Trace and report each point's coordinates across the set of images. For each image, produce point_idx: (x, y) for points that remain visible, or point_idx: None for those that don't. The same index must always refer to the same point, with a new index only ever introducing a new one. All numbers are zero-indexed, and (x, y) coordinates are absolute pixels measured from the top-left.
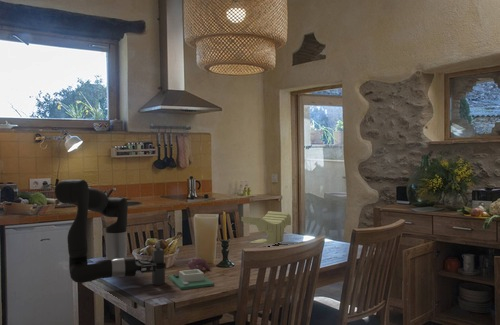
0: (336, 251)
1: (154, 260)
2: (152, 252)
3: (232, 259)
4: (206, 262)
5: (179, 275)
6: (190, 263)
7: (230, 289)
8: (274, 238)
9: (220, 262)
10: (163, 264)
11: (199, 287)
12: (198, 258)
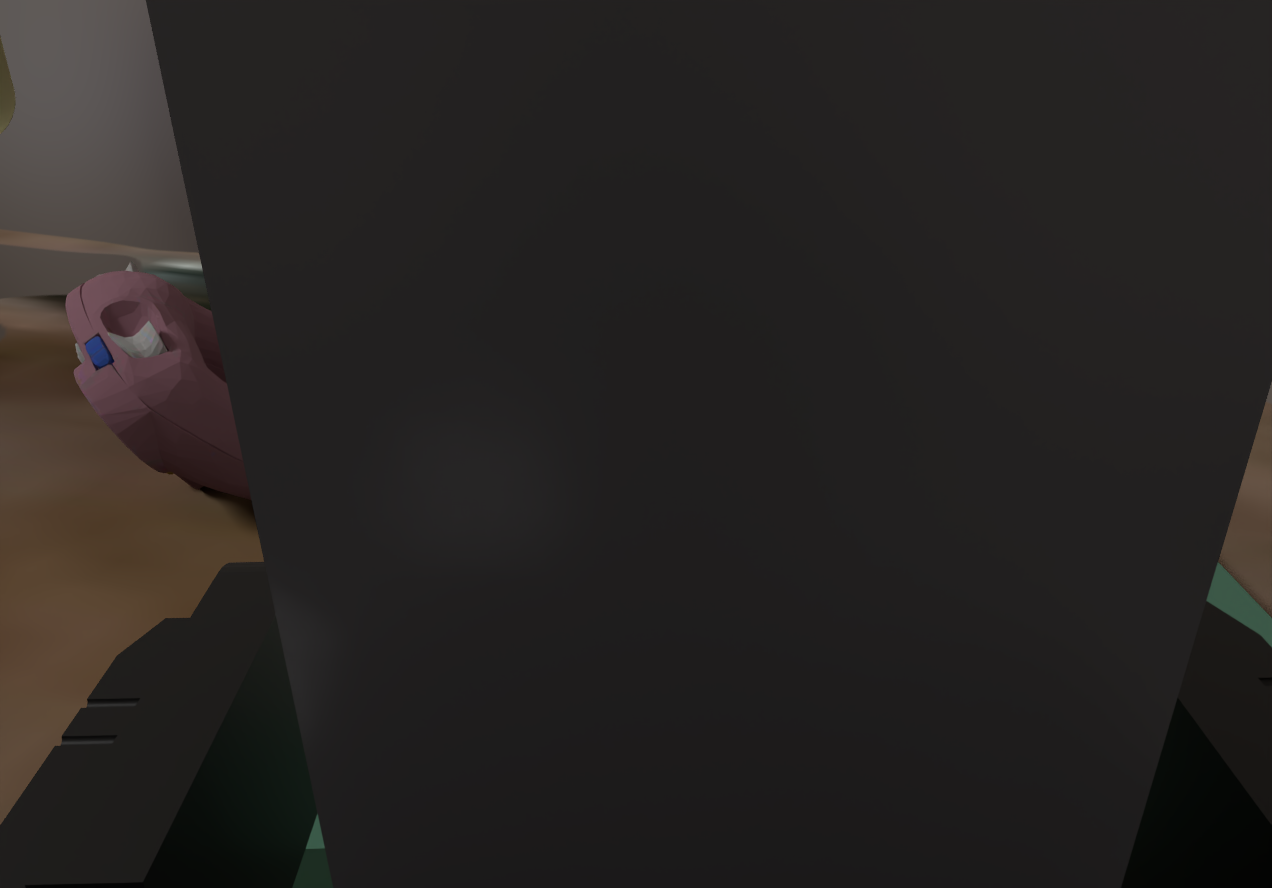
0: None
1: (1125, 804)
2: (431, 310)
3: (58, 250)
4: (201, 307)
5: None
6: (170, 386)
7: (1265, 404)
8: (7, 67)
9: (56, 300)
10: (1247, 633)
11: None
12: (148, 275)
